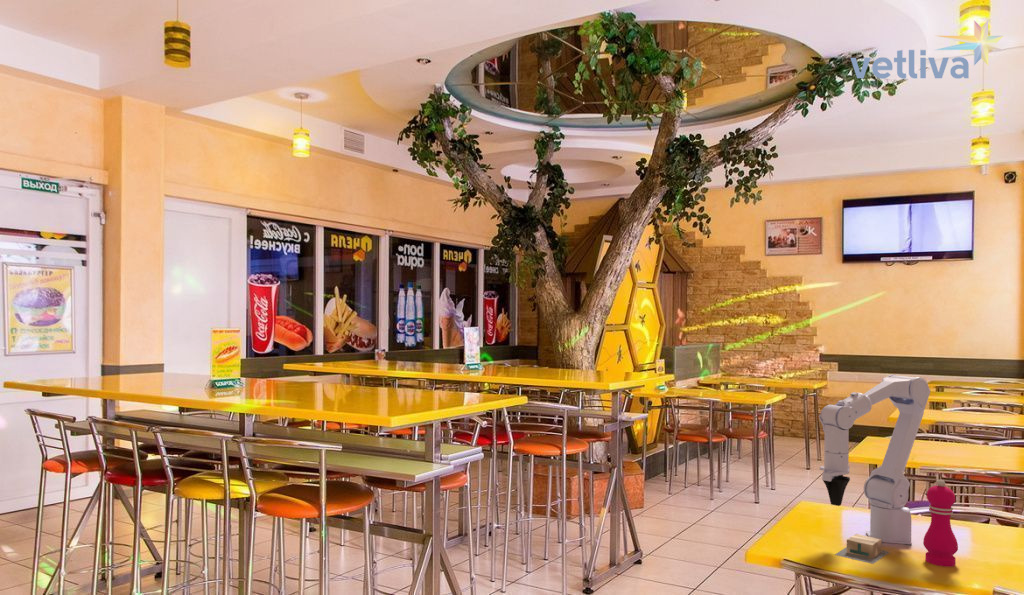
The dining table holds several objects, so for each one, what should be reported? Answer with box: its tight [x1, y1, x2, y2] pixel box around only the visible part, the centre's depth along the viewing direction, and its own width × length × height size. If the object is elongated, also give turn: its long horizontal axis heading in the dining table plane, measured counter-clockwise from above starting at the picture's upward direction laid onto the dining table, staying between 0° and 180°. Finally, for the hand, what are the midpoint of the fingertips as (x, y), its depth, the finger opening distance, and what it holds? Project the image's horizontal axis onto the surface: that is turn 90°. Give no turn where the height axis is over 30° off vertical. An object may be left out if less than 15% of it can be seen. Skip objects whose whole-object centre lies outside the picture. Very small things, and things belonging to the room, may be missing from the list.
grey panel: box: [834, 546, 890, 565], centre depth 181 cm, size 13×9×1 cm
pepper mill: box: [922, 479, 959, 568], centre depth 176 cm, size 7×7×20 cm
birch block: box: [846, 533, 882, 558], centre depth 182 cm, size 3×6×7 cm
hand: (836, 504), depth 188 cm, fingers closed
